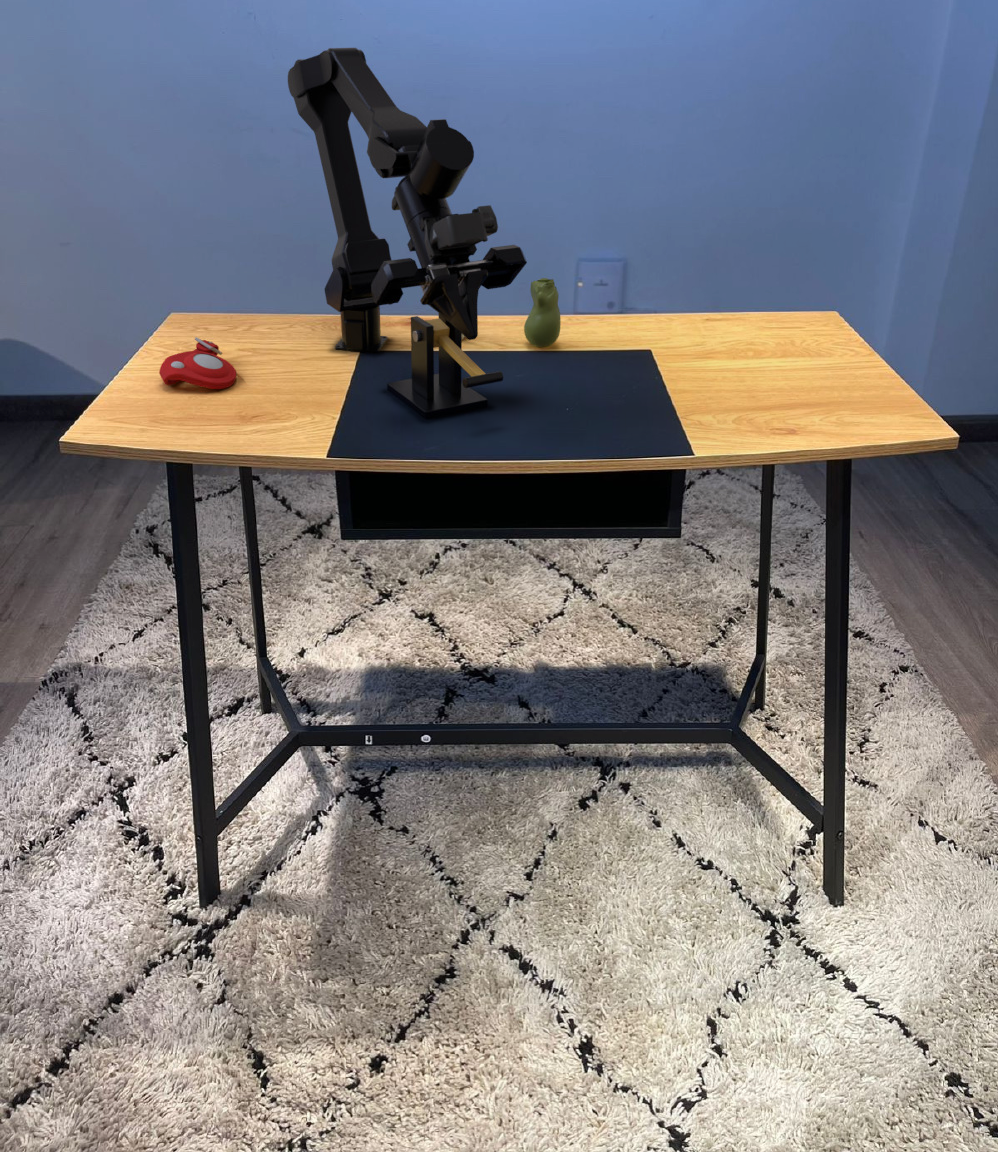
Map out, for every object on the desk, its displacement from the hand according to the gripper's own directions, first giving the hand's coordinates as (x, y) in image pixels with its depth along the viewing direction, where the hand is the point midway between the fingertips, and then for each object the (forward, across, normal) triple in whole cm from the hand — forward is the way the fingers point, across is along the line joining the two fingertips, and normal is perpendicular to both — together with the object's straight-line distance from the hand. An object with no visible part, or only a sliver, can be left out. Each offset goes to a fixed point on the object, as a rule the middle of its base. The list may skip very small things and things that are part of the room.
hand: (473, 338), depth 121 cm
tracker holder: (-14, -24, +30) cm, 41 cm away
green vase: (-6, +24, +23) cm, 34 cm away
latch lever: (0, 0, +6) cm, 6 cm away
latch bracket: (+1, 0, +15) cm, 15 cm away
